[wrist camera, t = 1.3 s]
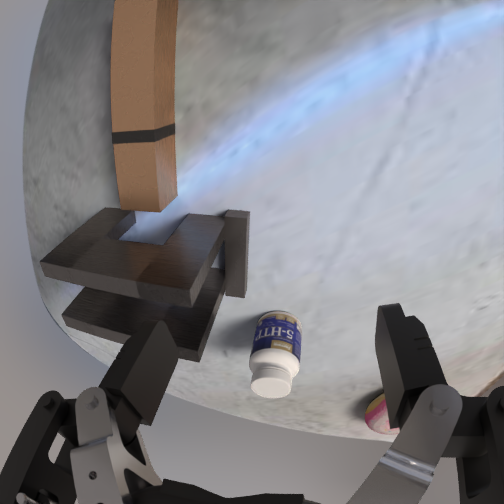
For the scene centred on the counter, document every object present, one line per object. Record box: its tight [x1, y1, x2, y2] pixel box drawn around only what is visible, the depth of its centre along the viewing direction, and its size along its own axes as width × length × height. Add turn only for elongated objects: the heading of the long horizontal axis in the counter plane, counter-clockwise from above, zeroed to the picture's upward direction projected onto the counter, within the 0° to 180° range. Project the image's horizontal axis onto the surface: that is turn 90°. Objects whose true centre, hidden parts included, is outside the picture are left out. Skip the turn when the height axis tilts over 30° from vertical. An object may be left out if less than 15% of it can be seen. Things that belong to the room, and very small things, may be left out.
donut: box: [365, 393, 400, 434], centre depth 37 cm, size 14×13×5 cm
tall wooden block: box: [111, 0, 178, 212], centre depth 20 cm, size 19×4×4 cm, turn 178°
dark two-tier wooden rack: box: [40, 208, 250, 362], centre depth 25 cm, size 9×19×11 cm, turn 88°
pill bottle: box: [249, 311, 302, 398], centre depth 30 cm, size 5×5×9 cm
